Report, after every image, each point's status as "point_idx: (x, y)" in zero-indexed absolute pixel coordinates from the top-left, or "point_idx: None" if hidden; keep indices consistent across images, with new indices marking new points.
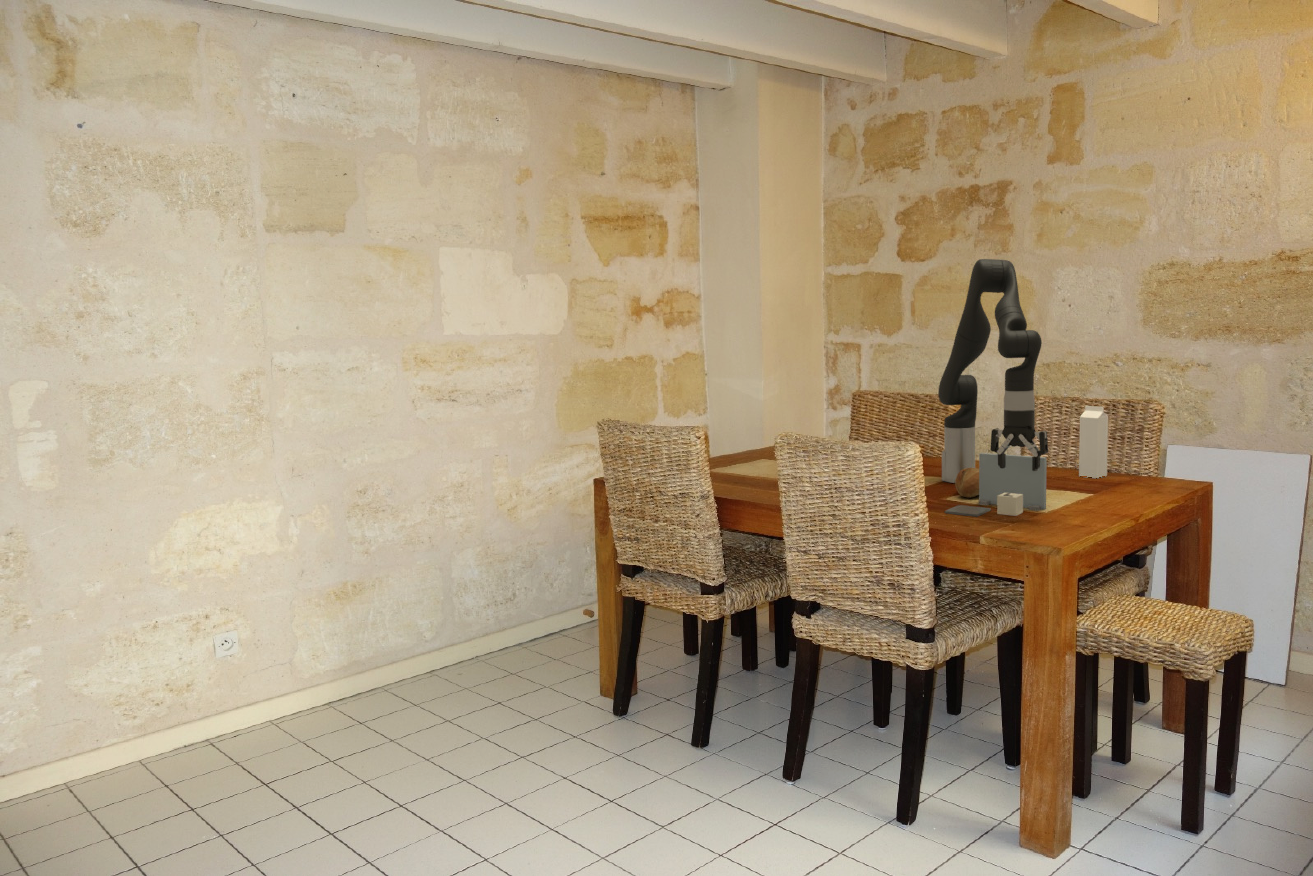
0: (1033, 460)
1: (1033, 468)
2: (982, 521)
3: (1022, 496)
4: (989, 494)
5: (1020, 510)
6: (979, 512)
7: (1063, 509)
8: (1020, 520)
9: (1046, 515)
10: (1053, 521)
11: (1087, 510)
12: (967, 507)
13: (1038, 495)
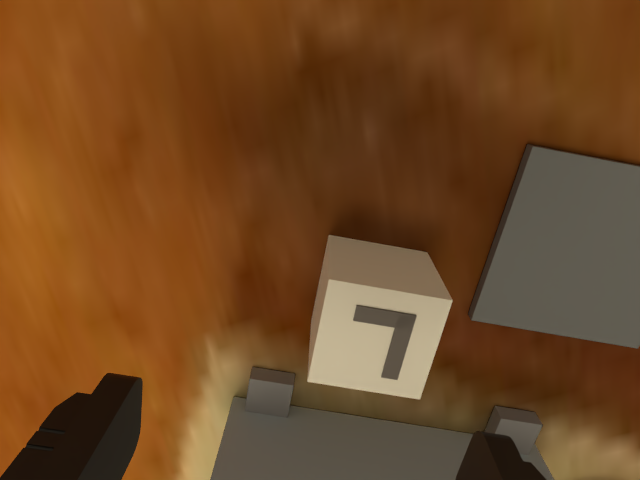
0: (62, 473)
1: (114, 387)
2: (487, 28)
3: (309, 365)
4: None
5: (316, 299)
6: (522, 204)
7: (158, 421)
8: (283, 133)
9: (191, 289)
10: (119, 166)
11: None
12: (592, 303)
13: (249, 451)
